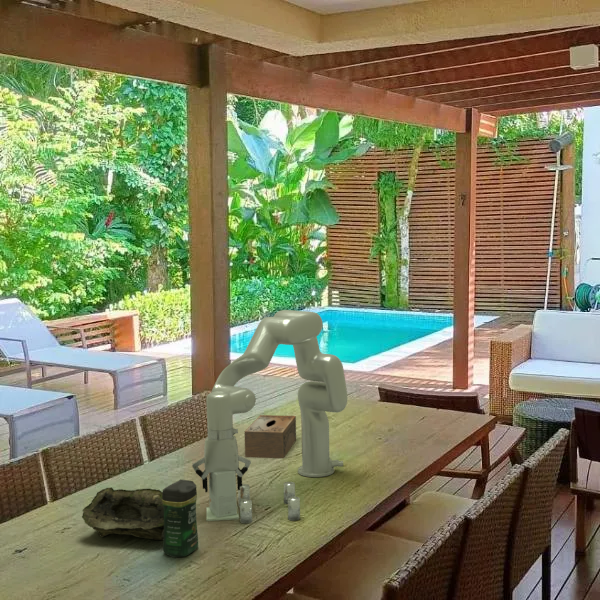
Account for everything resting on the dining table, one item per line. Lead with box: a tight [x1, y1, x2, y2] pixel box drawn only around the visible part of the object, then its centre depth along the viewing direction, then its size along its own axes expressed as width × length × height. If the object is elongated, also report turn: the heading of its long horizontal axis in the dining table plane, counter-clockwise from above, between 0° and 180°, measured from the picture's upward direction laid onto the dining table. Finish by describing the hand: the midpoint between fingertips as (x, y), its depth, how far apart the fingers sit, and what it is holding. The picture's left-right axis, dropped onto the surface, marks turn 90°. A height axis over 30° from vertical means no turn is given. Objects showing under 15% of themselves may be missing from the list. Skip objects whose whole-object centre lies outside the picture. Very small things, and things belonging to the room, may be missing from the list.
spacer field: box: [237, 481, 301, 524], centre depth 246 cm, size 18×18×6 cm
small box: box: [208, 471, 238, 517], centre depth 244 cm, size 8×6×13 cm
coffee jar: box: [162, 479, 199, 558], centre depth 217 cm, size 10×8×19 cm
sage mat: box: [205, 505, 240, 522], centre depth 244 cm, size 10×10×1 cm
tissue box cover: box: [244, 414, 297, 459], centre depth 314 cm, size 26×14×10 cm, turn 170°
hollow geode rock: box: [81, 487, 164, 541], centre depth 229 cm, size 28×13×15 cm
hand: (222, 489), depth 244 cm, fingers open, 9 cm apart
